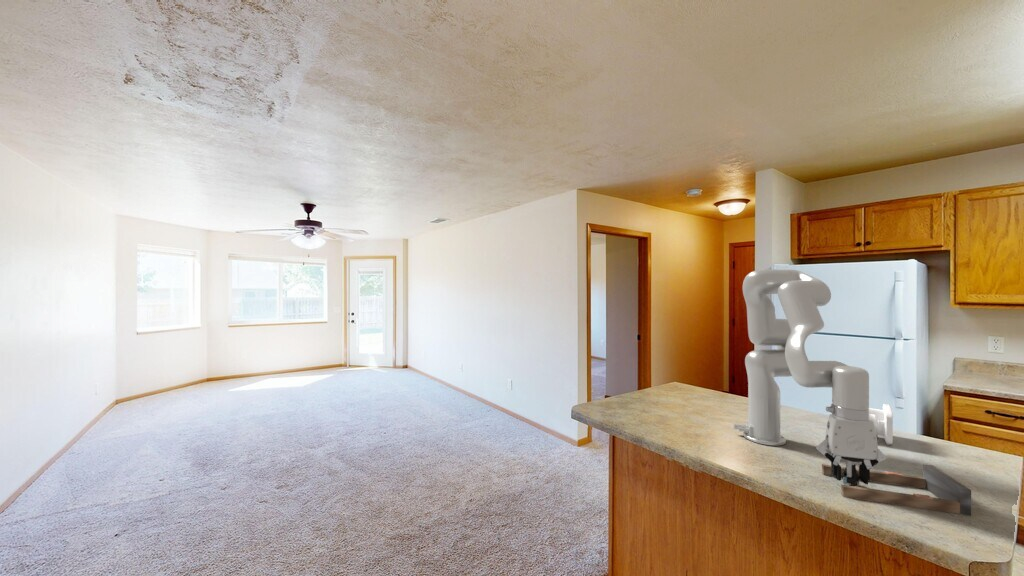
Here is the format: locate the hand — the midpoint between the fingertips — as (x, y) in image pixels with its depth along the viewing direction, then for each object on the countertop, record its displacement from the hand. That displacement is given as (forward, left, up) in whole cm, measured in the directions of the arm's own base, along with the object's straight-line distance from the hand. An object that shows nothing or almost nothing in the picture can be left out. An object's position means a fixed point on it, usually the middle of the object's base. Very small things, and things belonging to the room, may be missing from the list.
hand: (850, 479), depth 104 cm
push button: (0, 0, -2) cm, 2 cm away
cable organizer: (+23, +44, -2) cm, 50 cm away
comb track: (+8, 0, -2) cm, 9 cm away
